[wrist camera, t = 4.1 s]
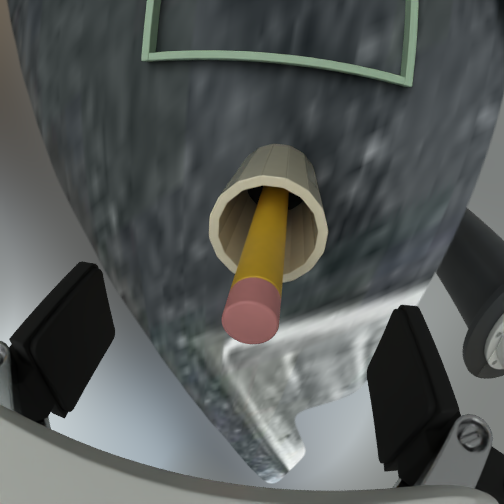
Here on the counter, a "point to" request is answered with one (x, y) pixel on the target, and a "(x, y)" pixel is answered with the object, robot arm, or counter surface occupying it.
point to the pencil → (259, 273)
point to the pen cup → (243, 207)
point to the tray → (402, 80)
